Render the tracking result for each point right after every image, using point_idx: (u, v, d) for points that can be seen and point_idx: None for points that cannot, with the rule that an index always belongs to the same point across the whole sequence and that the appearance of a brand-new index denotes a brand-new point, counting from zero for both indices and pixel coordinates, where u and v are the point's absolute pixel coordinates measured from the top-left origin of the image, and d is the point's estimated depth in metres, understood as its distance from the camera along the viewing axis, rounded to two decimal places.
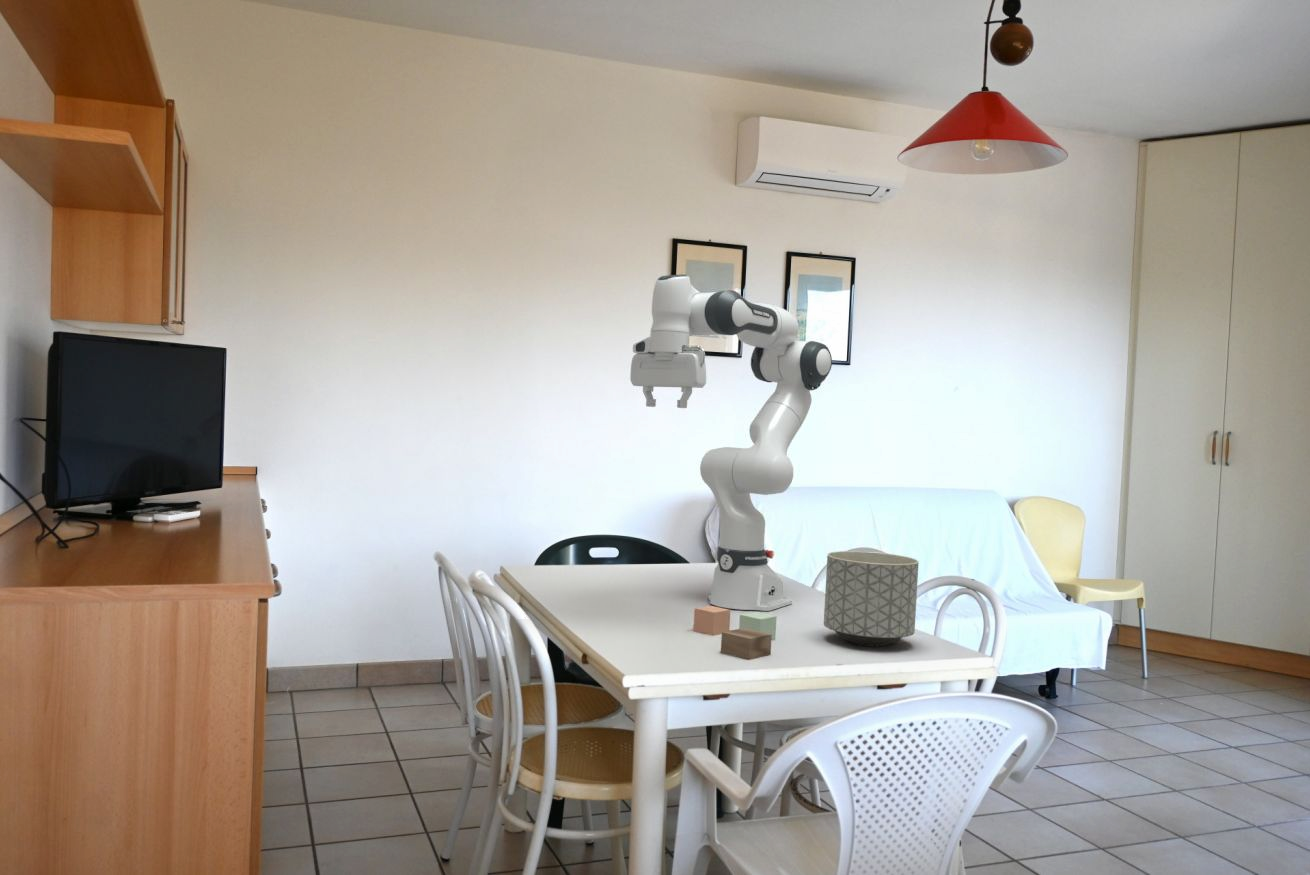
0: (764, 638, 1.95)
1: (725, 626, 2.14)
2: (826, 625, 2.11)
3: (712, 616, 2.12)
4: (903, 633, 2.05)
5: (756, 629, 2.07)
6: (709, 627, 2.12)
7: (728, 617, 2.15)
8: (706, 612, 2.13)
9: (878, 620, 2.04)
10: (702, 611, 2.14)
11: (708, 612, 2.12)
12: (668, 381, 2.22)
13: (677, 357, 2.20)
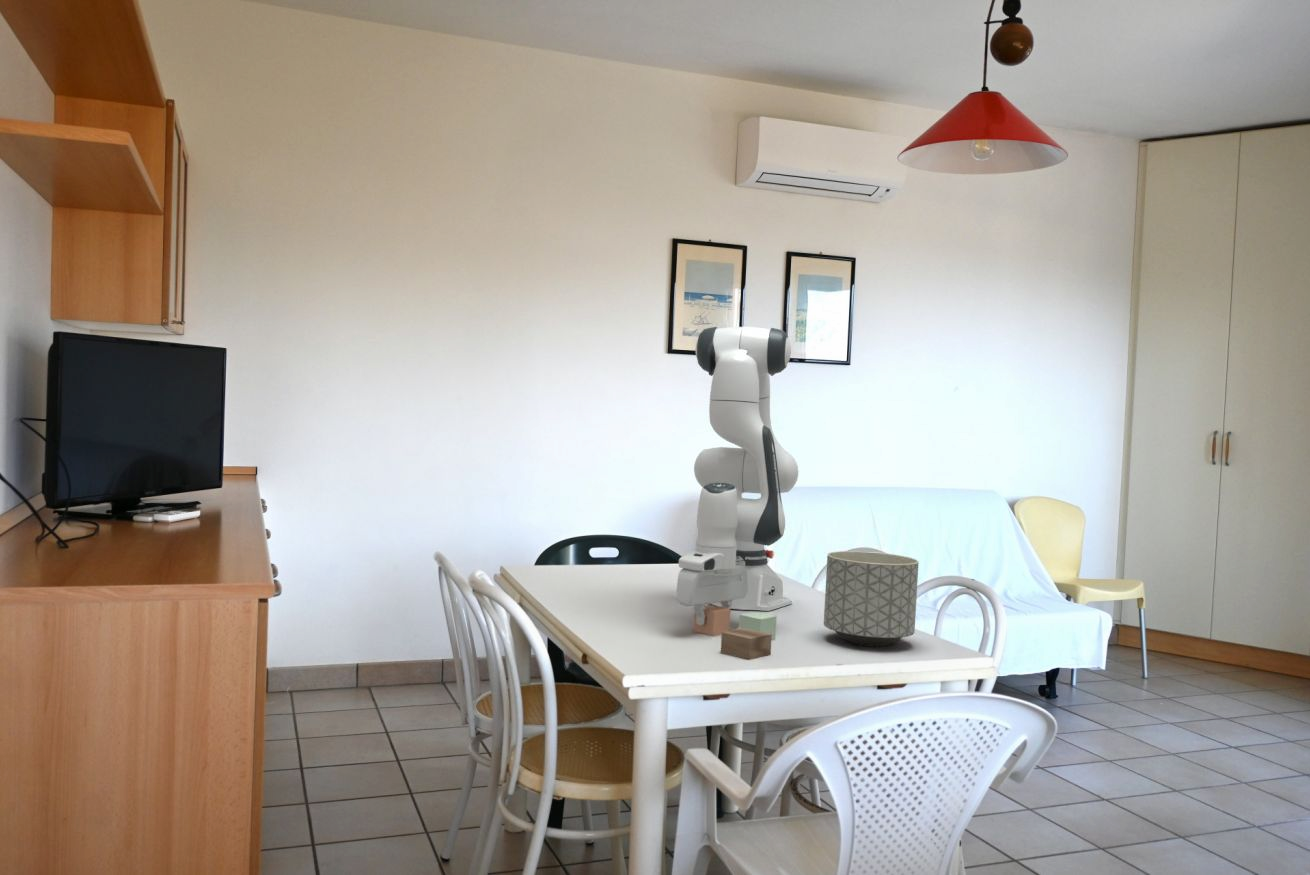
0: (764, 638, 1.95)
1: (725, 625, 2.14)
2: (826, 625, 2.11)
3: (712, 615, 2.12)
4: (903, 633, 2.05)
5: (756, 629, 2.07)
6: (708, 626, 2.12)
7: (728, 616, 2.15)
8: (706, 611, 2.13)
9: (878, 620, 2.04)
10: None
11: (708, 611, 2.12)
12: (725, 596, 2.15)
13: (733, 570, 2.17)
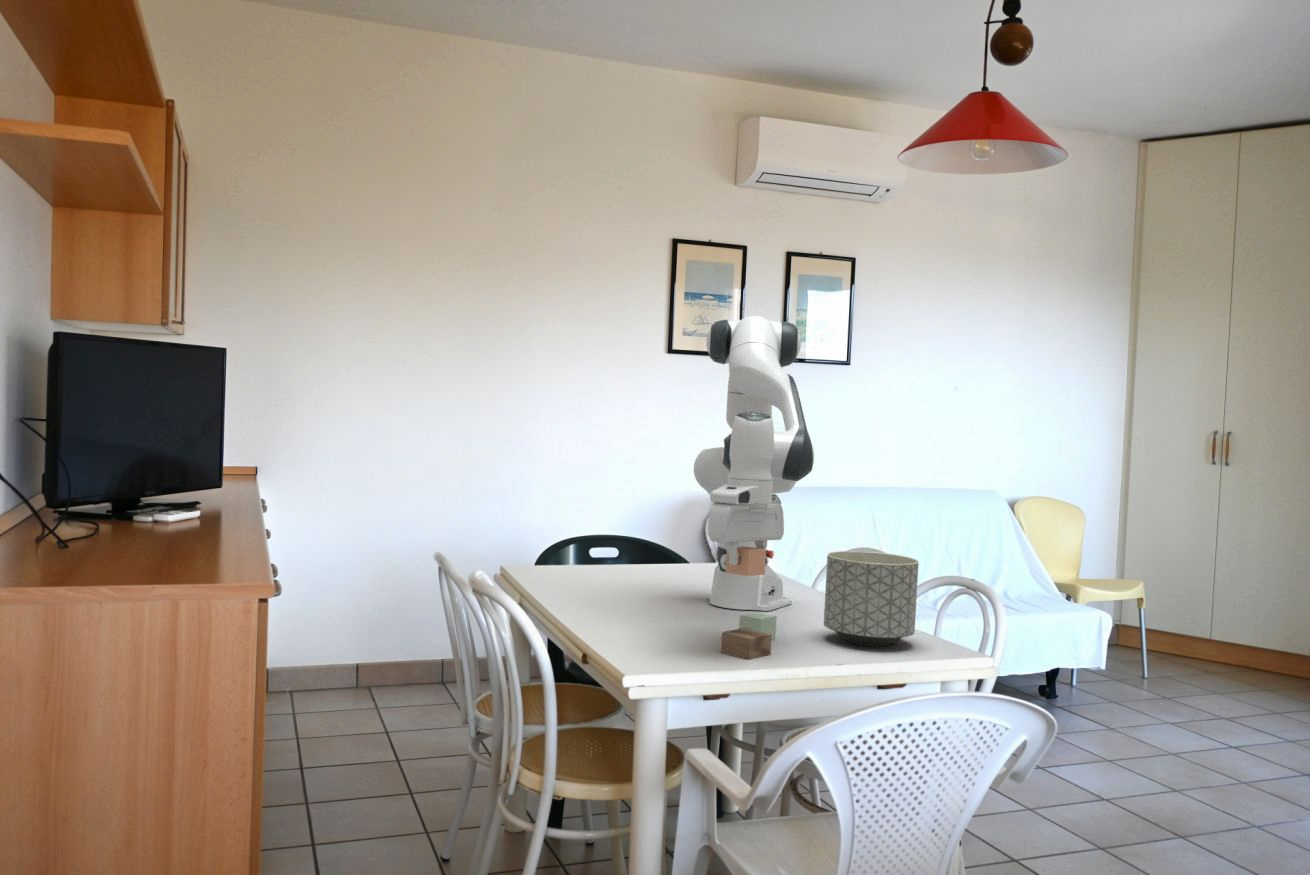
0: (764, 638, 1.95)
1: (760, 567, 1.96)
2: (826, 625, 2.11)
3: (746, 554, 1.94)
4: (903, 633, 2.05)
5: (756, 629, 2.07)
6: (743, 566, 1.94)
7: (763, 557, 1.97)
8: (740, 550, 1.95)
9: (878, 619, 2.04)
10: None
11: (742, 550, 1.95)
12: (760, 535, 1.97)
13: (769, 508, 1.99)
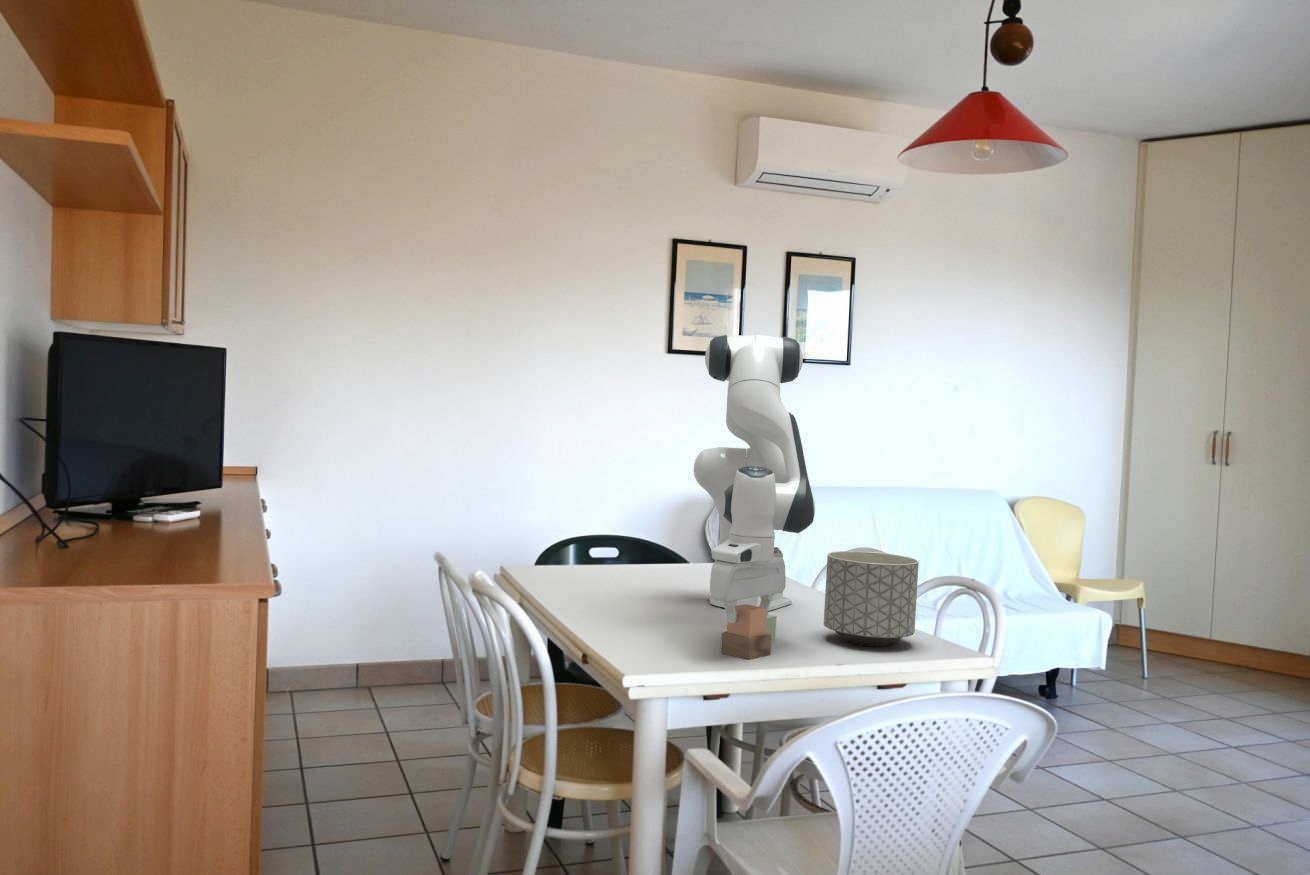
0: (764, 638, 1.95)
1: (762, 626, 1.96)
2: (826, 625, 2.11)
3: (748, 615, 1.93)
4: (903, 633, 2.05)
5: None
6: (744, 627, 1.93)
7: (765, 617, 1.96)
8: (741, 611, 1.94)
9: (878, 620, 2.04)
10: (737, 610, 1.95)
11: (744, 611, 1.94)
12: (762, 590, 1.96)
13: (770, 563, 1.98)
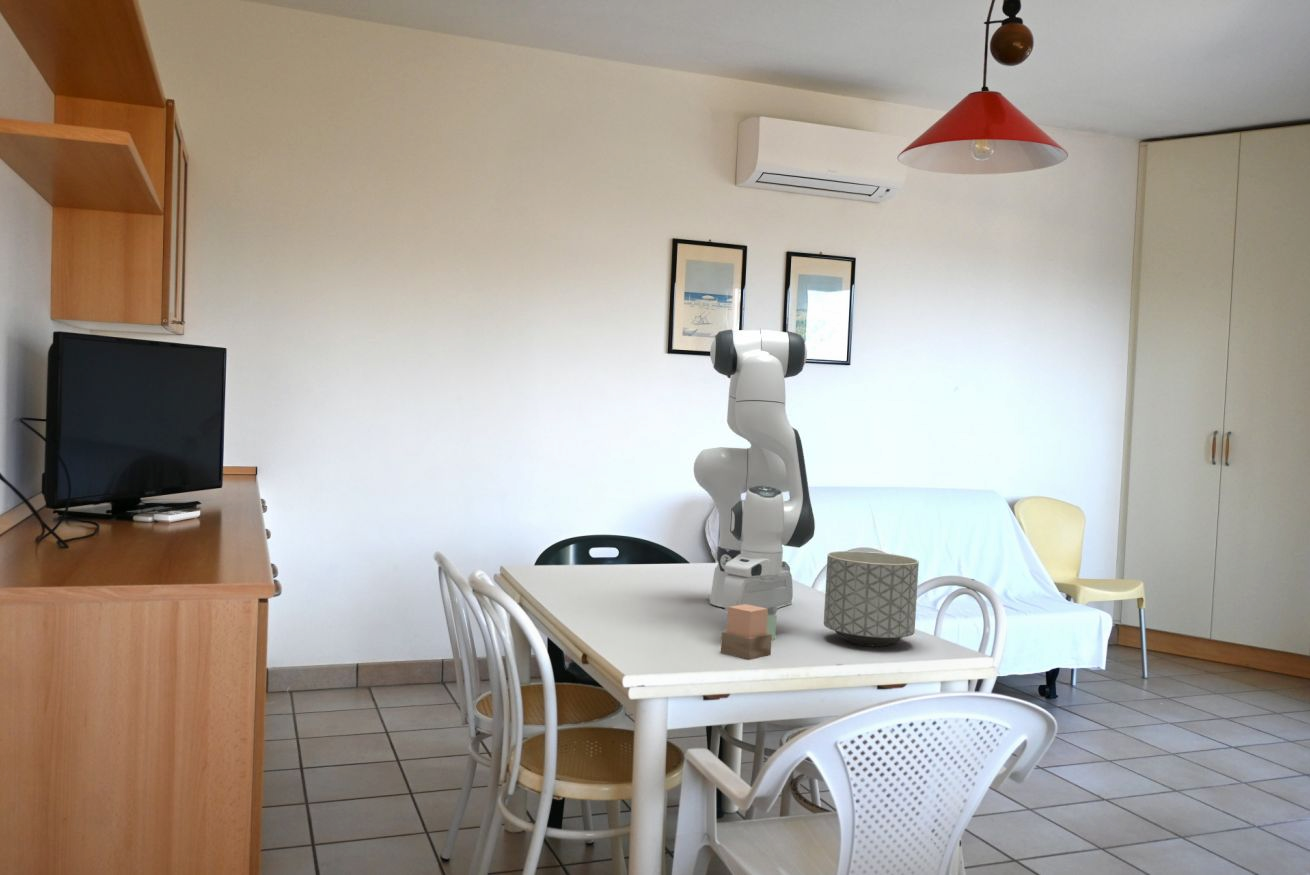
0: (764, 638, 1.95)
1: (762, 626, 1.96)
2: (826, 625, 2.11)
3: (748, 615, 1.93)
4: (903, 633, 2.05)
5: None
6: (744, 627, 1.93)
7: (765, 617, 1.96)
8: (741, 611, 1.94)
9: (878, 619, 2.04)
10: (737, 610, 1.95)
11: (744, 611, 1.94)
12: (770, 602, 2.11)
13: (779, 576, 2.12)
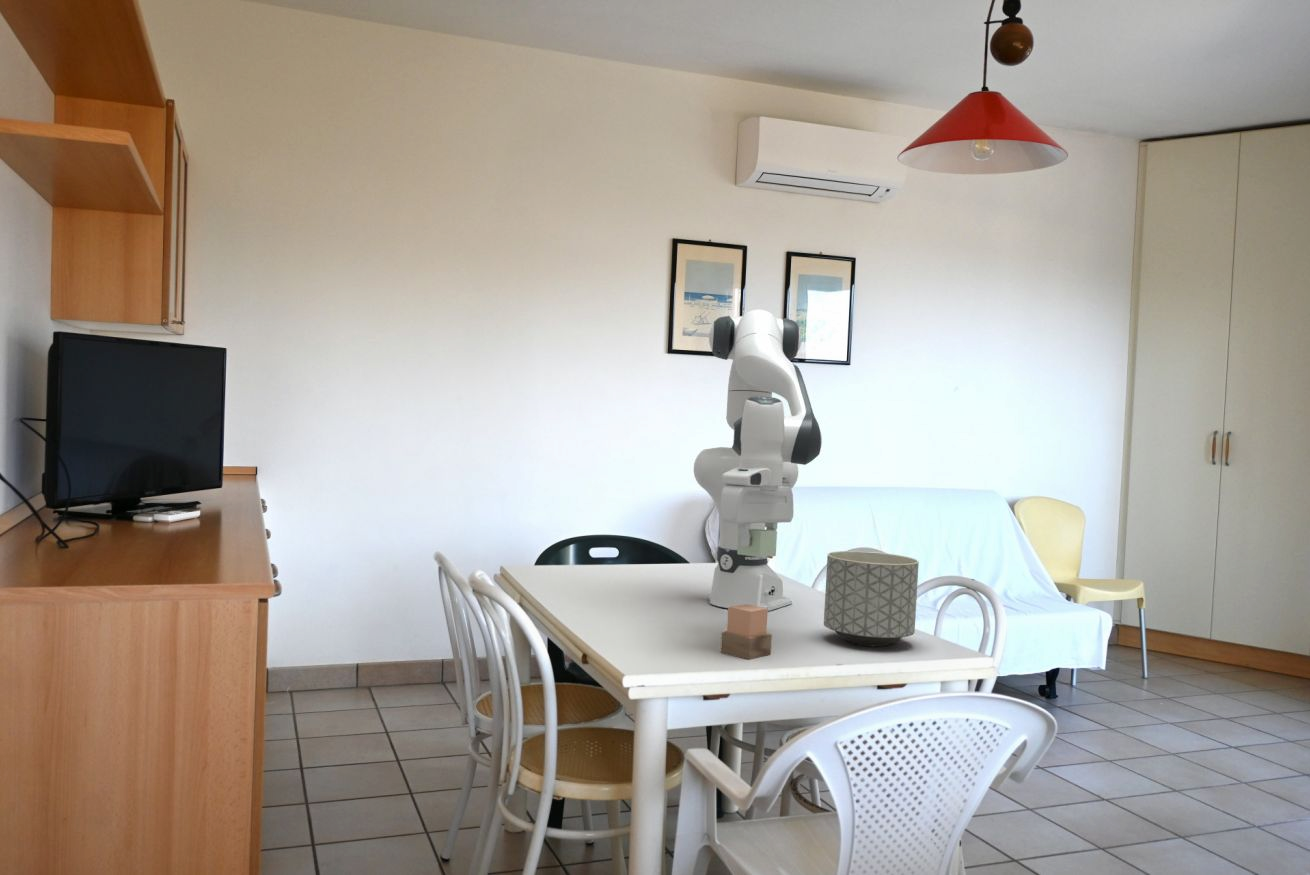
0: (764, 638, 1.95)
1: (762, 626, 1.96)
2: (826, 625, 2.11)
3: (748, 615, 1.93)
4: (903, 633, 2.05)
5: (756, 542, 1.97)
6: (744, 627, 1.93)
7: (765, 617, 1.96)
8: (741, 611, 1.94)
9: (878, 619, 2.04)
10: (737, 610, 1.95)
11: (744, 611, 1.94)
12: (770, 517, 2.01)
13: (779, 491, 2.03)
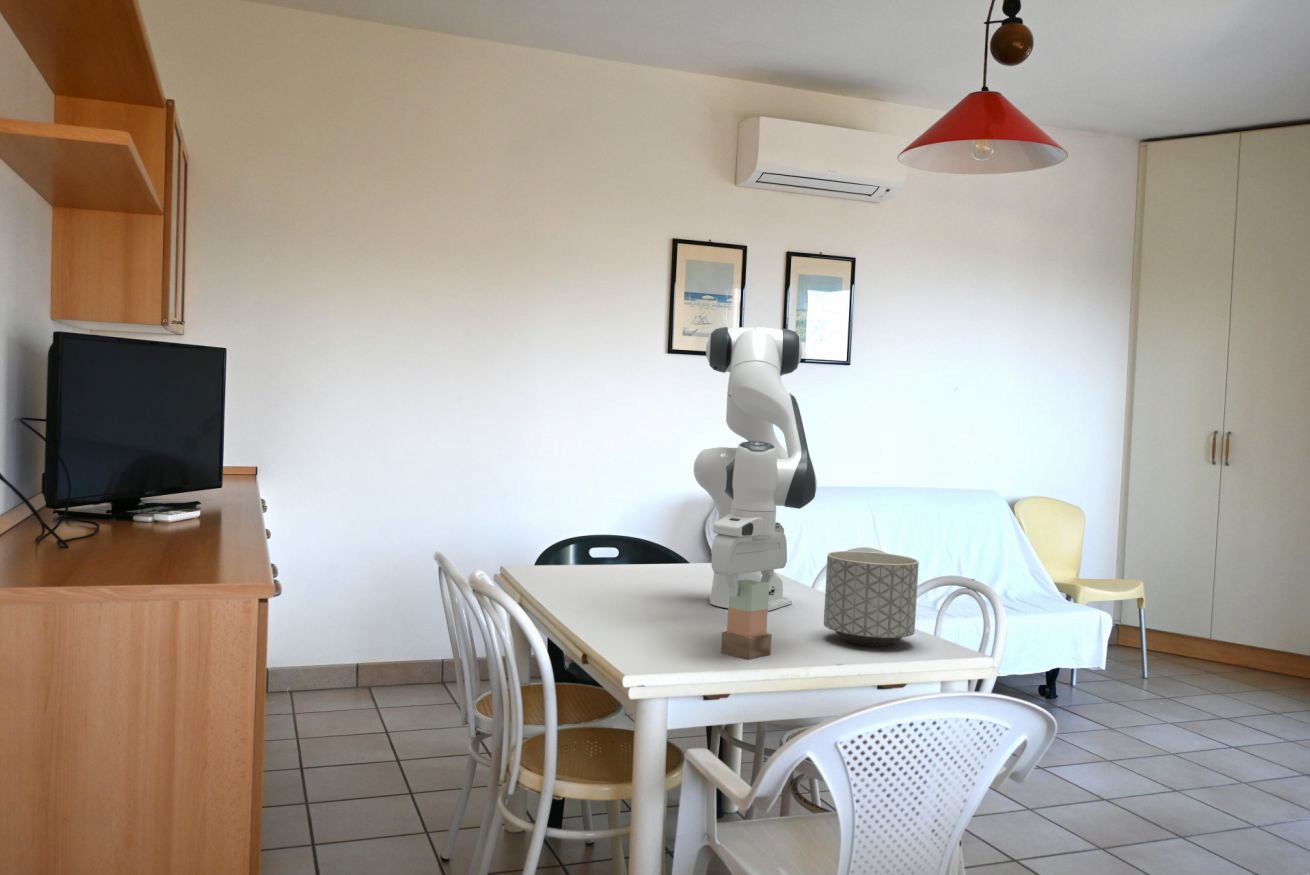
0: (764, 638, 1.95)
1: (762, 626, 1.96)
2: (826, 625, 2.11)
3: (748, 615, 1.93)
4: (903, 633, 2.05)
5: (747, 597, 1.93)
6: (744, 627, 1.93)
7: (765, 617, 1.96)
8: (741, 611, 1.94)
9: (878, 619, 2.04)
10: (737, 610, 1.95)
11: (744, 611, 1.94)
12: (763, 565, 1.96)
13: (772, 537, 1.98)
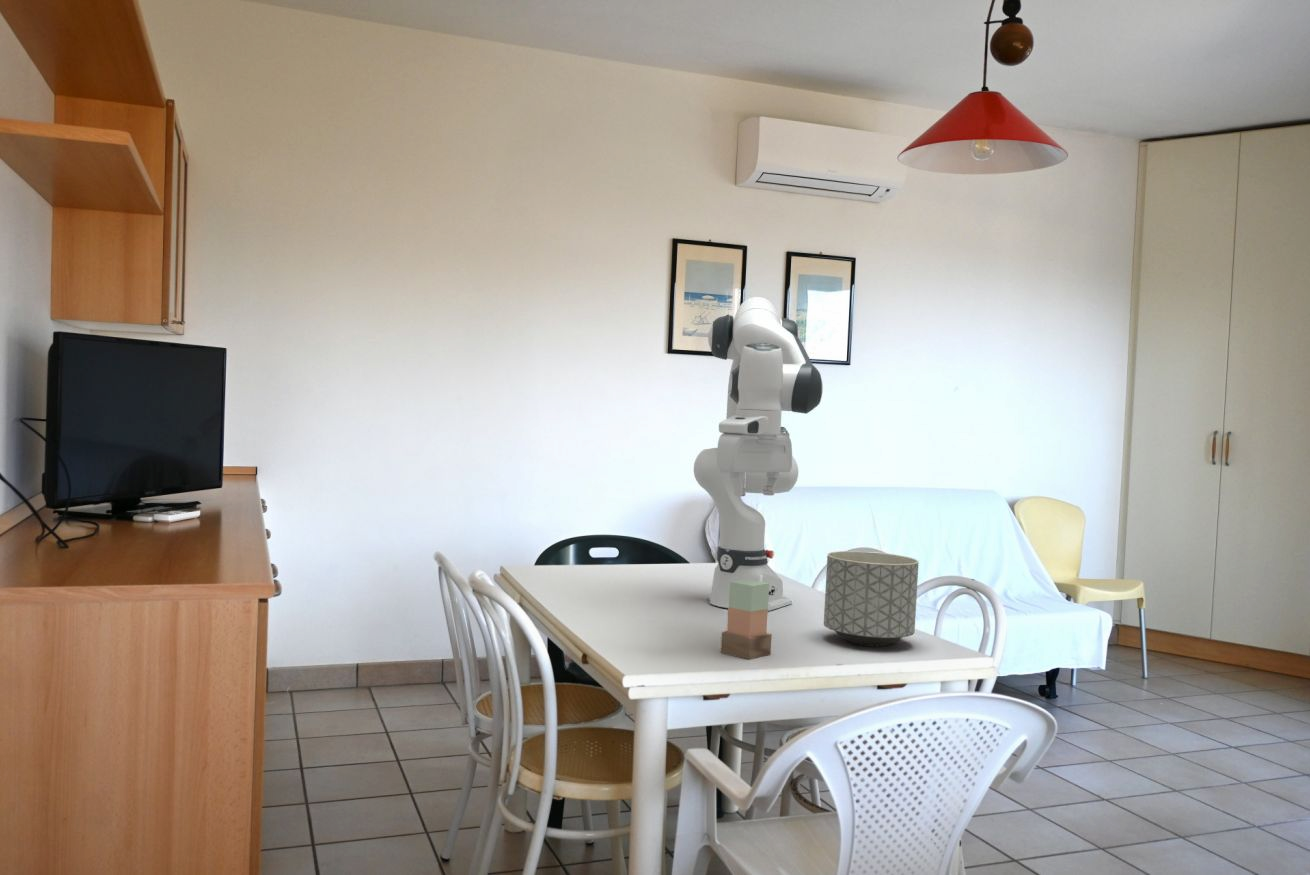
0: (764, 638, 1.95)
1: (762, 626, 1.96)
2: (826, 625, 2.11)
3: (748, 615, 1.93)
4: (903, 633, 2.05)
5: (747, 597, 1.93)
6: (744, 627, 1.93)
7: (765, 617, 1.96)
8: (741, 611, 1.94)
9: (878, 620, 2.04)
10: (737, 610, 1.95)
11: (744, 611, 1.94)
12: (768, 466, 1.96)
13: (777, 440, 1.98)
